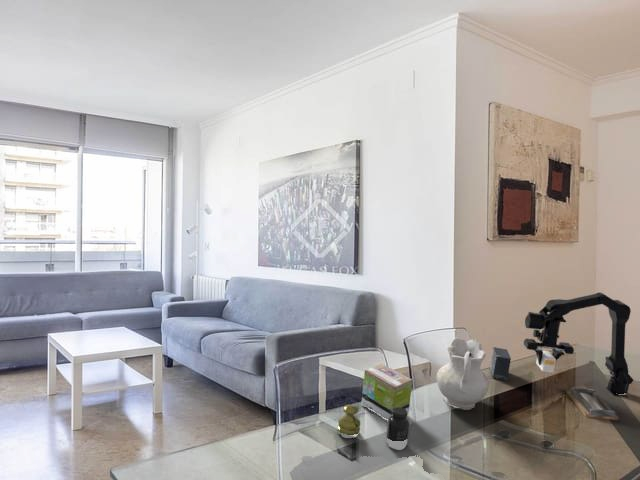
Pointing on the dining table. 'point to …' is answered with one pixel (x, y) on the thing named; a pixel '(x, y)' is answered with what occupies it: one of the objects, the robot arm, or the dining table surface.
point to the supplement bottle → (398, 425)
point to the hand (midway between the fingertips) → (545, 365)
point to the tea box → (386, 390)
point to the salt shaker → (349, 421)
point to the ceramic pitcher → (463, 374)
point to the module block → (547, 362)
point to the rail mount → (591, 403)
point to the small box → (500, 363)
